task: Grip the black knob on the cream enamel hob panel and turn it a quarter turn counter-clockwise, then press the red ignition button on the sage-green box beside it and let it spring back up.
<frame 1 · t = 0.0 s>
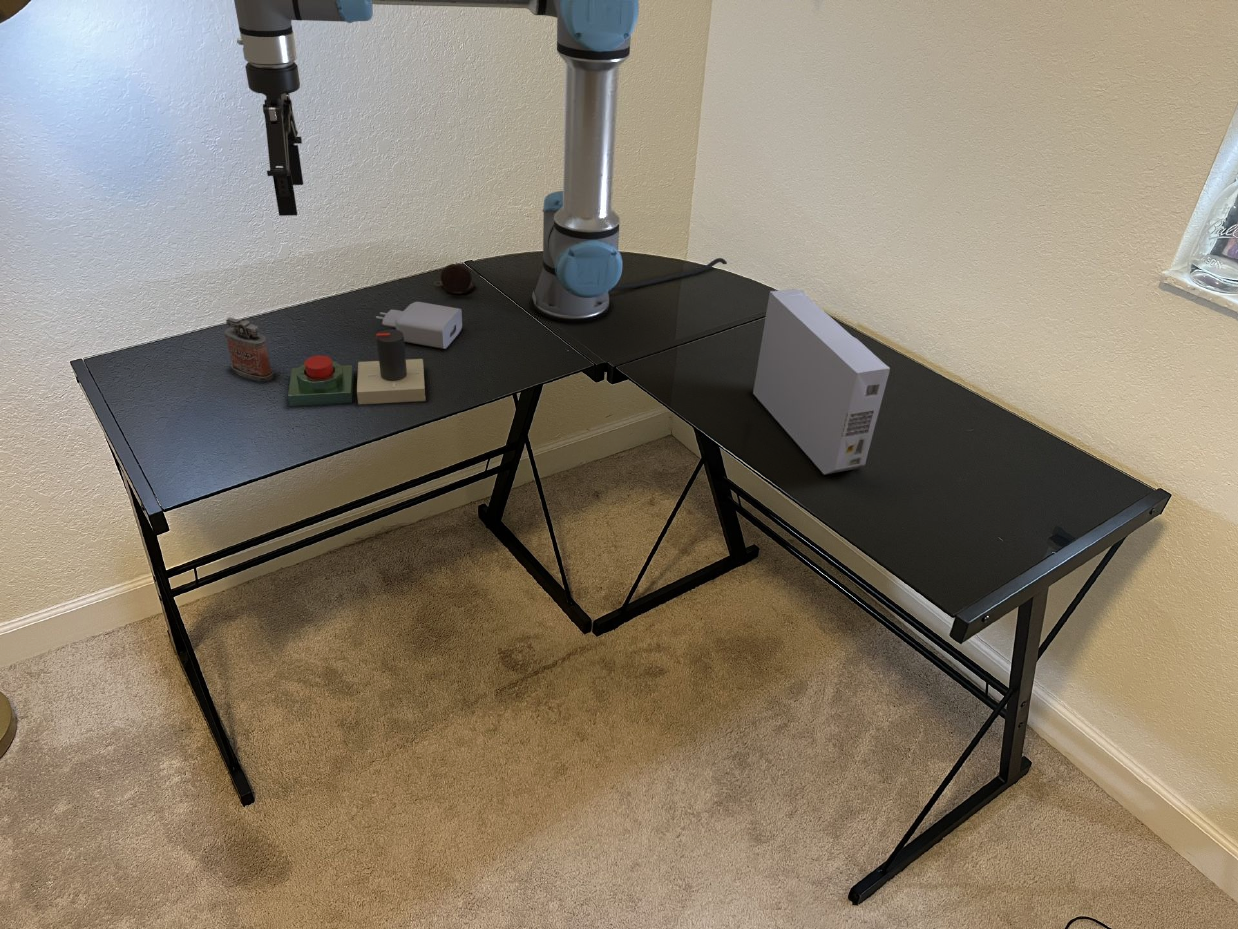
hand: (291, 199, 155), 28 cm above the table, tool pointing down, fingers open, 13 cm apart
hob knob: (391, 354, 159), point 6 cm above the table, hinge at 0.0°
ignition button: (319, 367, 157), point 5 cm above the table, slide at 0.1 cm
charger: (416, 334, 178), on the table
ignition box: (322, 390, 160), on the table
dark brown round lump: (453, 290, 194), on the table
game console: (804, 434, 158), on the table
hob panel: (392, 387, 162), on the table
lighter: (253, 374, 164), on the table
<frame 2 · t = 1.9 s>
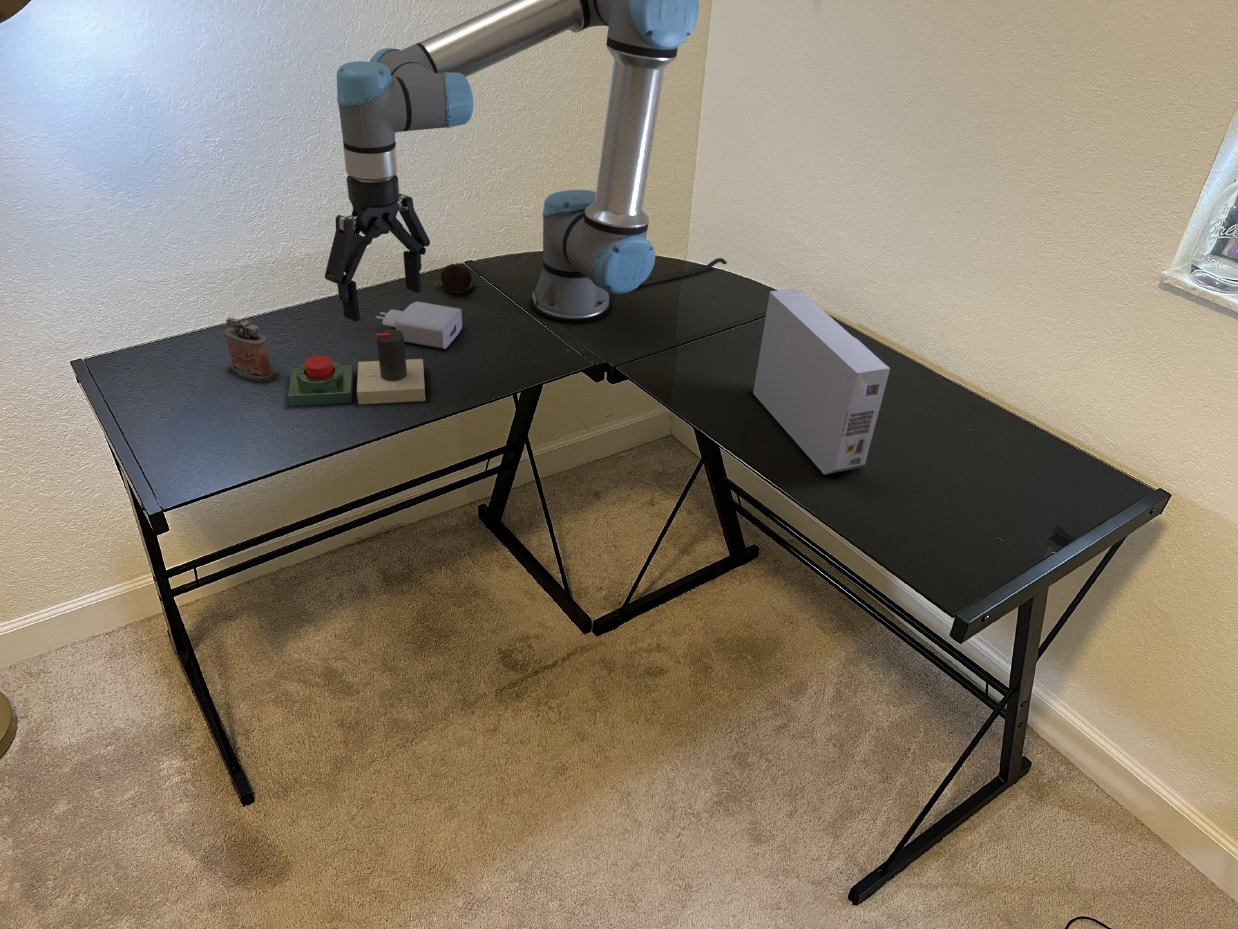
hand: (383, 304, 153), 16 cm above the table, tool pointing down, fingers open, 13 cm apart
nothing on the table moved.
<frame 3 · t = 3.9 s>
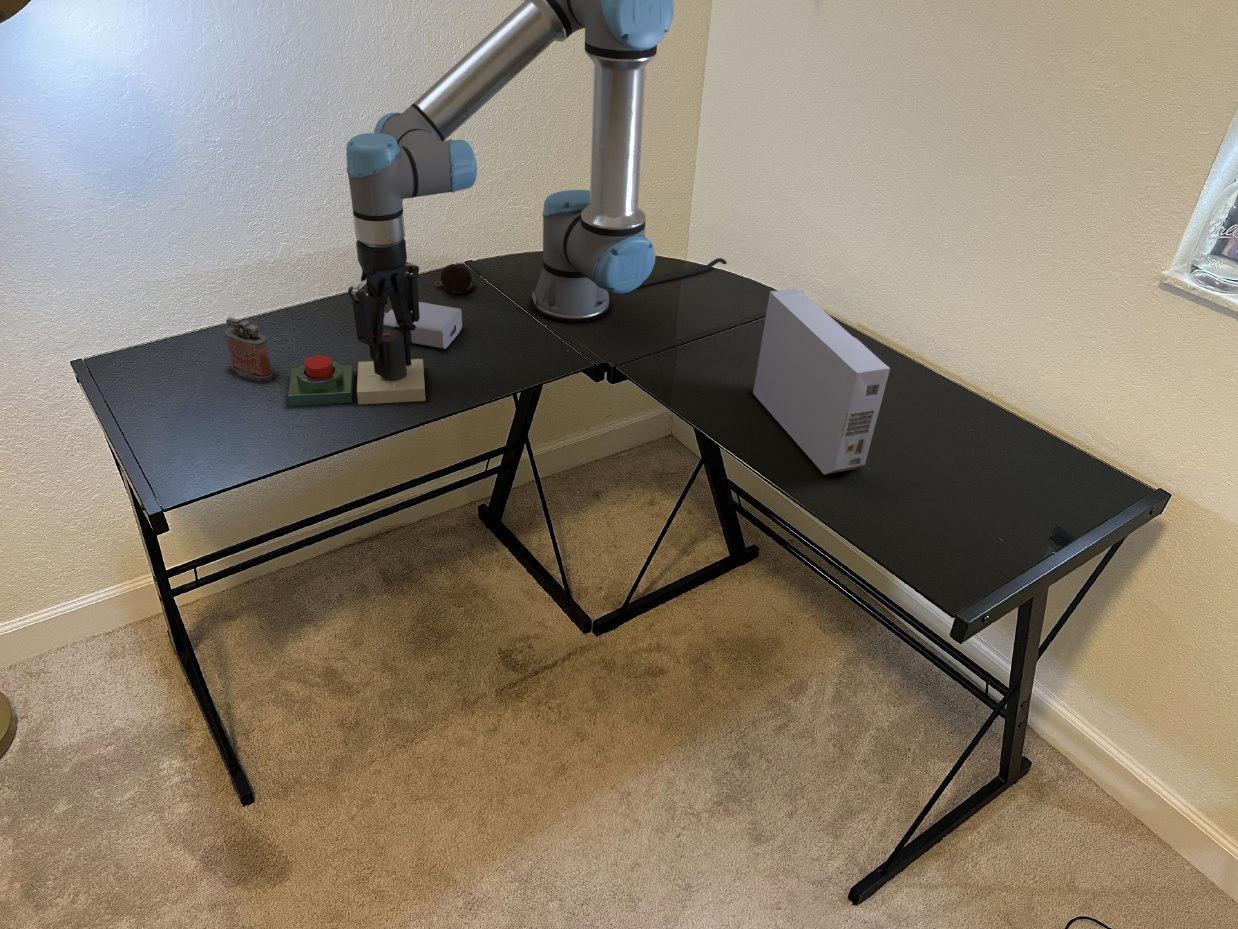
hand: (393, 368, 160), 4 cm above the table, tool pointing down, fingers closed on hob knob, 4 cm apart
hob knob: (391, 354, 159), point 6 cm above the table, hinge at 0.0°, touching gripper
everything else where it was.
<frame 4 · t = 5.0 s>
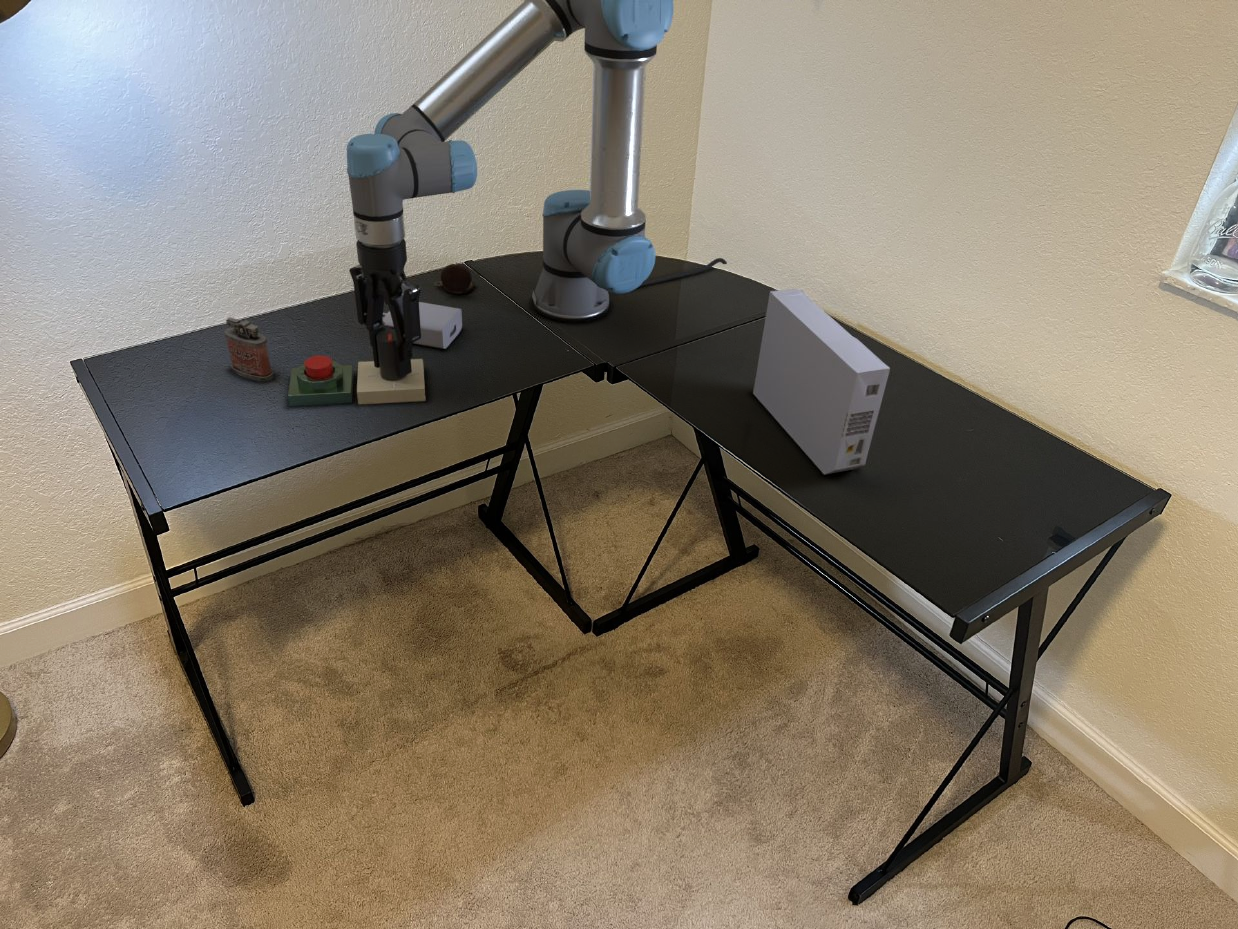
hand: (393, 369, 160), 4 cm above the table, tool pointing down, fingers open, 5 cm apart
hob knob: (391, 354, 159), point 6 cm above the table, hinge at 90.0°
everything else where it was.
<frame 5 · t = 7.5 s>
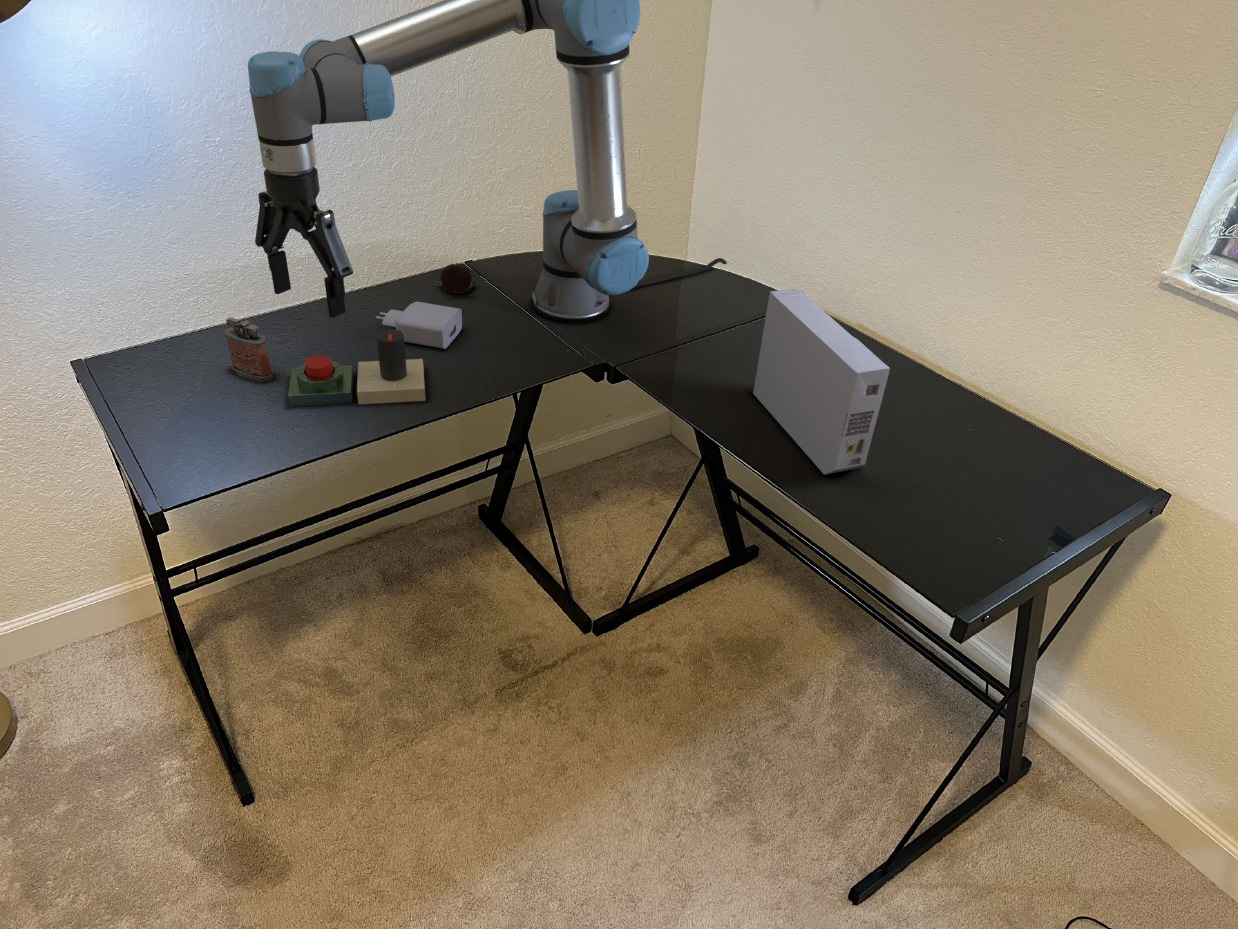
hand: (309, 302, 150), 17 cm above the table, tool pointing down, fingers open, 12 cm apart
nothing on the table moved.
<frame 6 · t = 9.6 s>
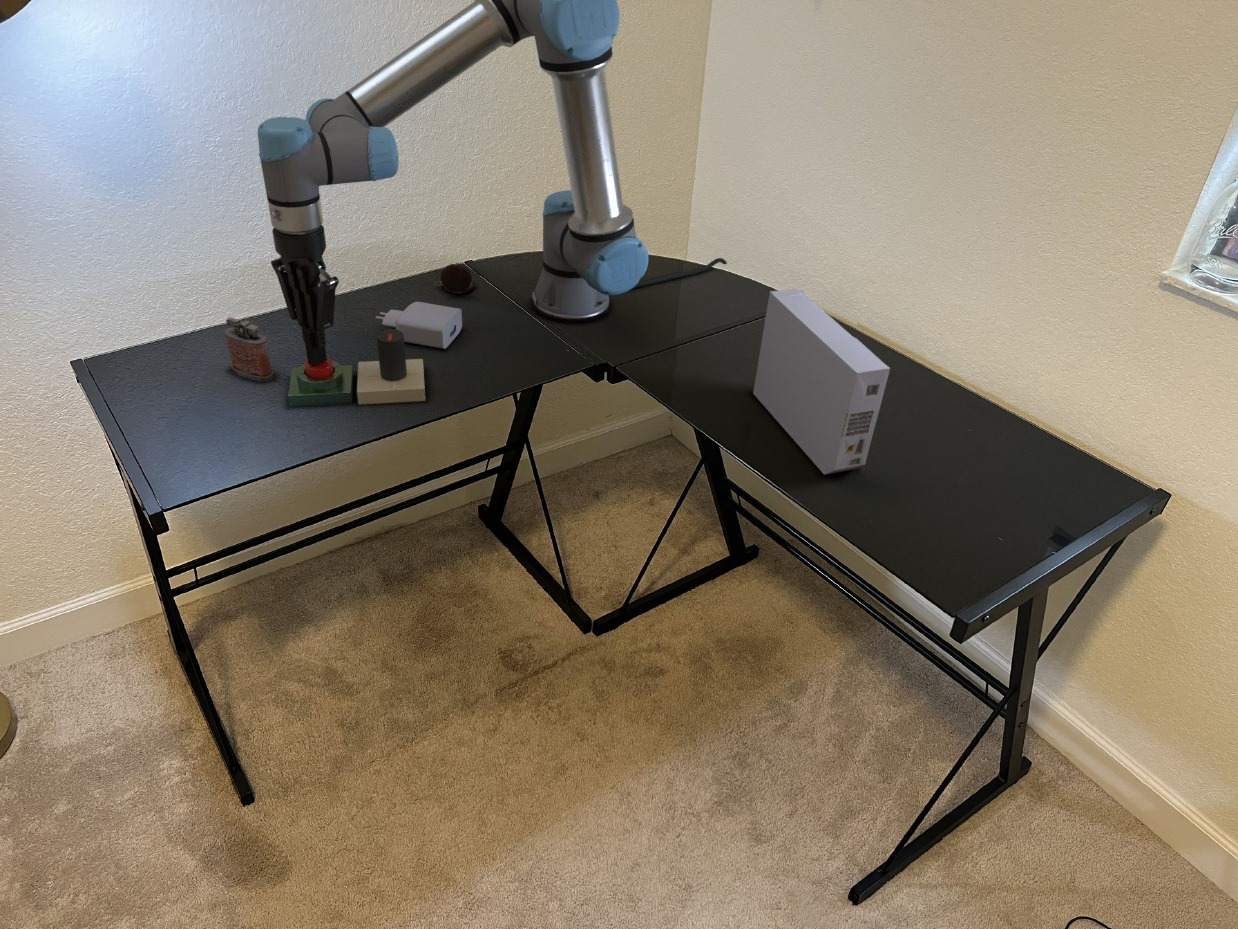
hand: (317, 361, 157), 6 cm above the table, tool pointing down, fingers closed
ignition button: (319, 368, 158), point 4 cm above the table, slide at -0.1 cm, touching gripper
everything else where it was.
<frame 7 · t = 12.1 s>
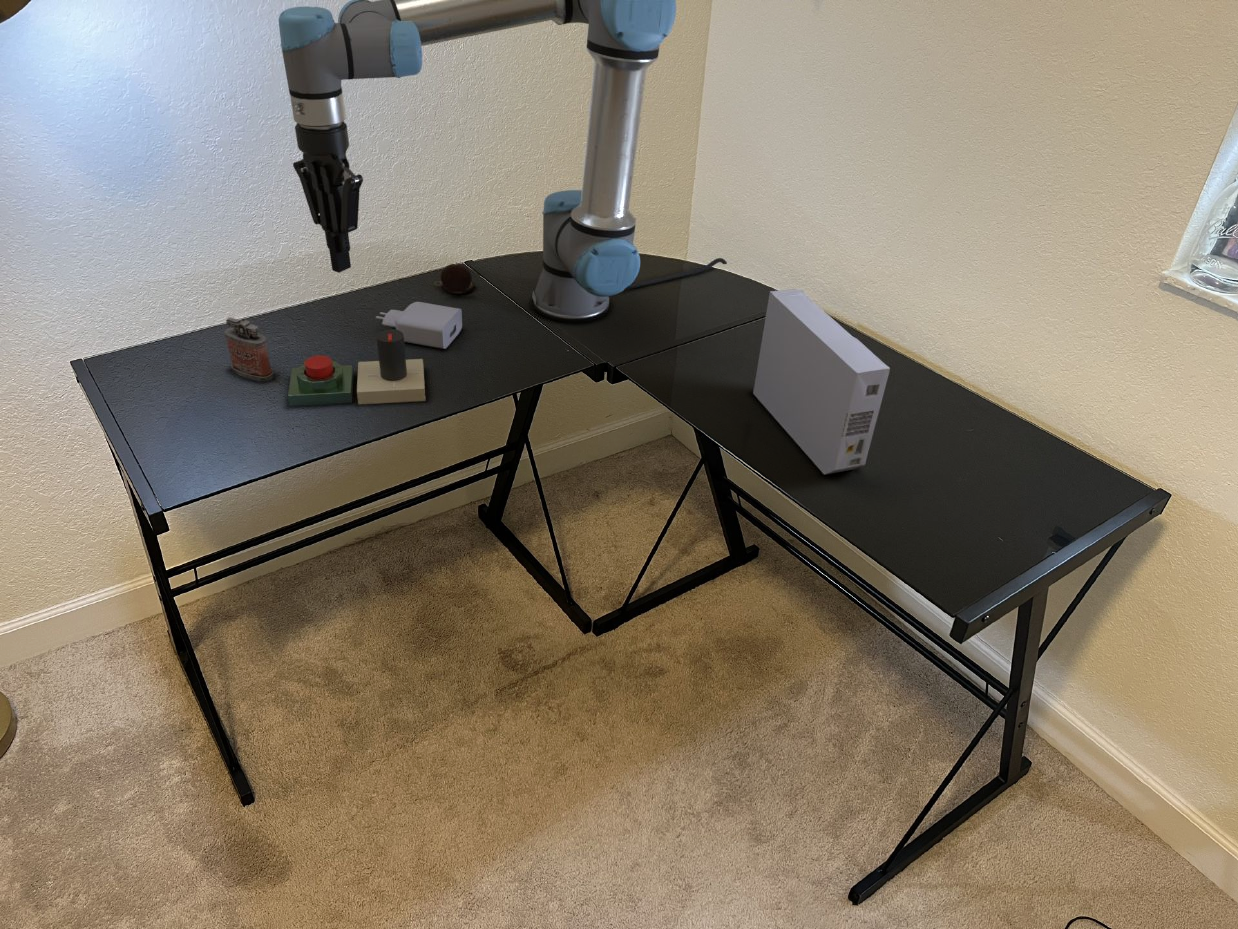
hand: (341, 268, 155), 19 cm above the table, tool pointing down, fingers closed
ignition button: (319, 367, 157), point 5 cm above the table, slide at 0.1 cm
everything else where it was.
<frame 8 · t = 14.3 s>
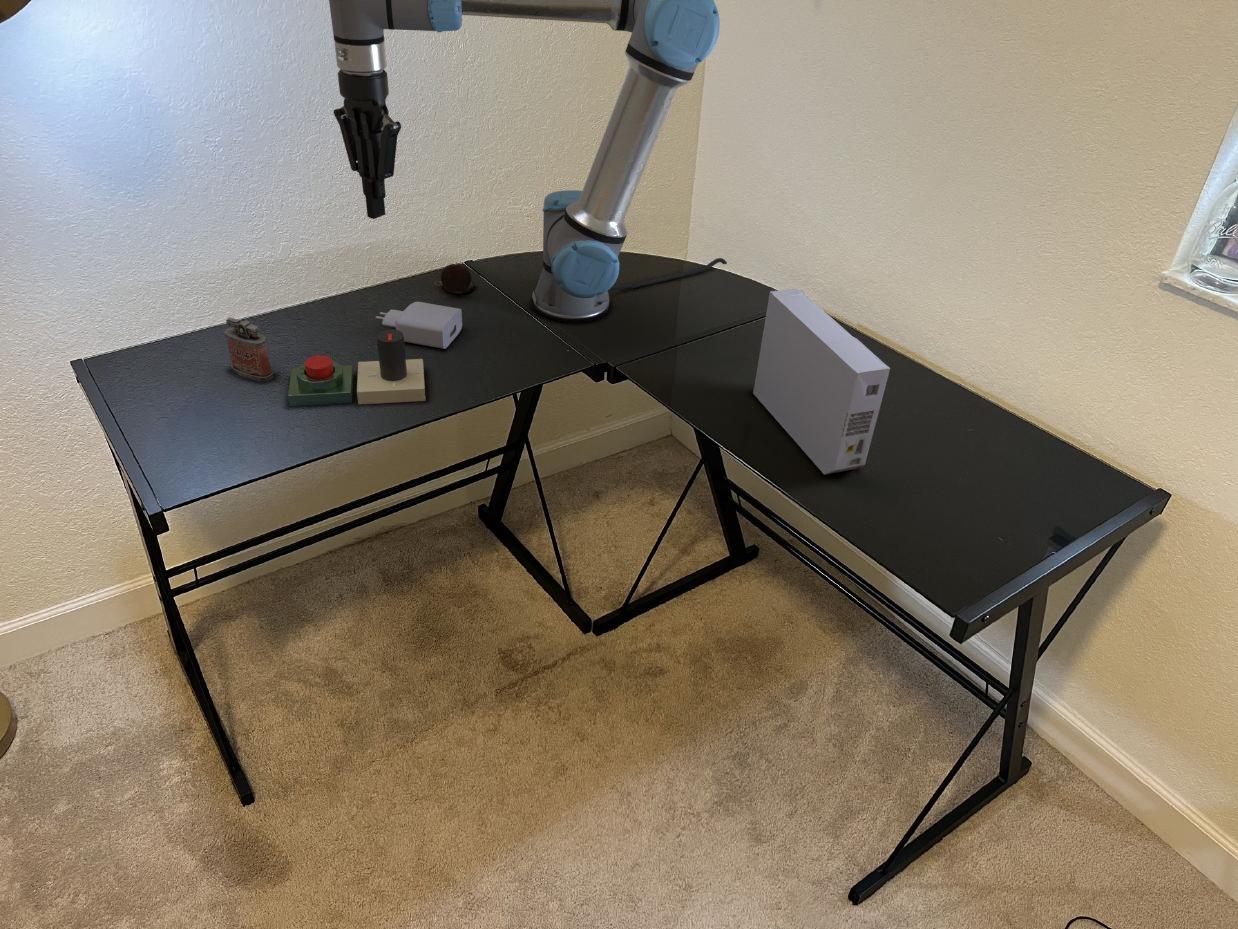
hand: (376, 215, 160), 24 cm above the table, tool pointing down, fingers closed
nothing on the table moved.
at the end: hob knob at +90° (first picture: +0°); ignition button pushed in 1.0 cm at the most during the clip, back to where it started at the end; ignition button slide at 0.1 cm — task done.
